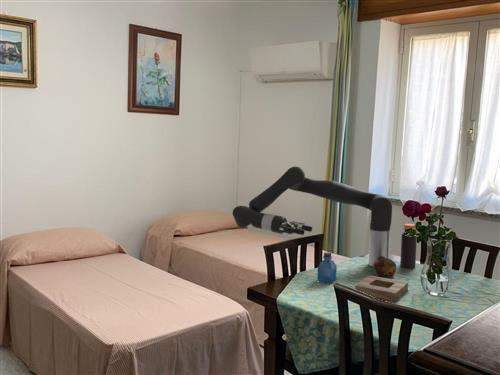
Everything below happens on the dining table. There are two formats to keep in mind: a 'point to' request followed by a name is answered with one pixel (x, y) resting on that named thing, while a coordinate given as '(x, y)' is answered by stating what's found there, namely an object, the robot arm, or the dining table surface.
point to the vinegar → (408, 249)
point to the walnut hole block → (383, 288)
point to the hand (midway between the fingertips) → (308, 230)
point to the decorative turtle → (385, 266)
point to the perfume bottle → (327, 270)
